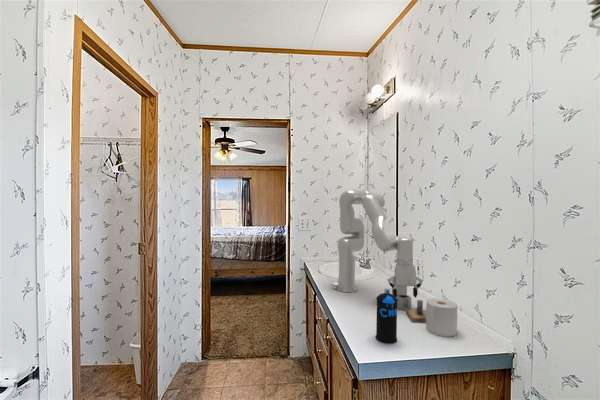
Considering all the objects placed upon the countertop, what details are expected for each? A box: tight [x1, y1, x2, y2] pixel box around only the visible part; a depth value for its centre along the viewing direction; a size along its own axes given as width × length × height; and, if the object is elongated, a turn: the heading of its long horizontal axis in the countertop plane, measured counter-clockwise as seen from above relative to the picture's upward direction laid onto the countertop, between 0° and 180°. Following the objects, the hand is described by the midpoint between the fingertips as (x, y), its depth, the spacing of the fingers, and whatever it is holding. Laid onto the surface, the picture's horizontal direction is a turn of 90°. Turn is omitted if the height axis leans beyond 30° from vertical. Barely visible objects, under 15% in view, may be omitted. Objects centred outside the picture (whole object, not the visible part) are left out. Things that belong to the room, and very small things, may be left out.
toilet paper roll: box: [425, 297, 458, 337], centre depth 129 cm, size 12×12×12 cm
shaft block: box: [405, 299, 426, 324], centre depth 141 cm, size 10×10×8 cm
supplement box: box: [390, 274, 408, 298], centre depth 166 cm, size 7×7×13 cm
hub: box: [397, 294, 412, 312], centre depth 153 cm, size 6×6×6 cm
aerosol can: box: [375, 287, 398, 344], centre depth 120 cm, size 8×8×20 cm
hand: (405, 296), depth 153 cm, fingers open, 9 cm apart
